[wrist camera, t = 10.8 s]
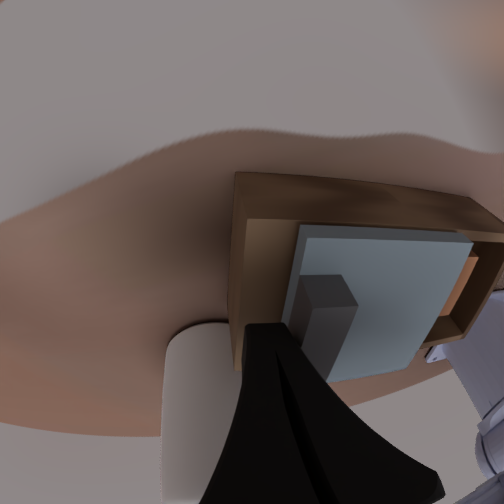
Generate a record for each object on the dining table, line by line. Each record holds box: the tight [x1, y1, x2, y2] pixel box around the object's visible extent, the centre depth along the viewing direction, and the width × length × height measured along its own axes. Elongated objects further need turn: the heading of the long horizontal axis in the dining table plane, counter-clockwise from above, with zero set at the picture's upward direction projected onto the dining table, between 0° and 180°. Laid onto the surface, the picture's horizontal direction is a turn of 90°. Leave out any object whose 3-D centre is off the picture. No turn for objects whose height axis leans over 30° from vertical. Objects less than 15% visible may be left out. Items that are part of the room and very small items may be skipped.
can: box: [160, 322, 242, 504], centre depth 14 cm, size 6×6×12 cm
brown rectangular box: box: [227, 172, 504, 371], centre depth 14 cm, size 14×8×5 cm, turn 85°
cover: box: [281, 225, 474, 383], centre depth 11 cm, size 7×8×2 cm
